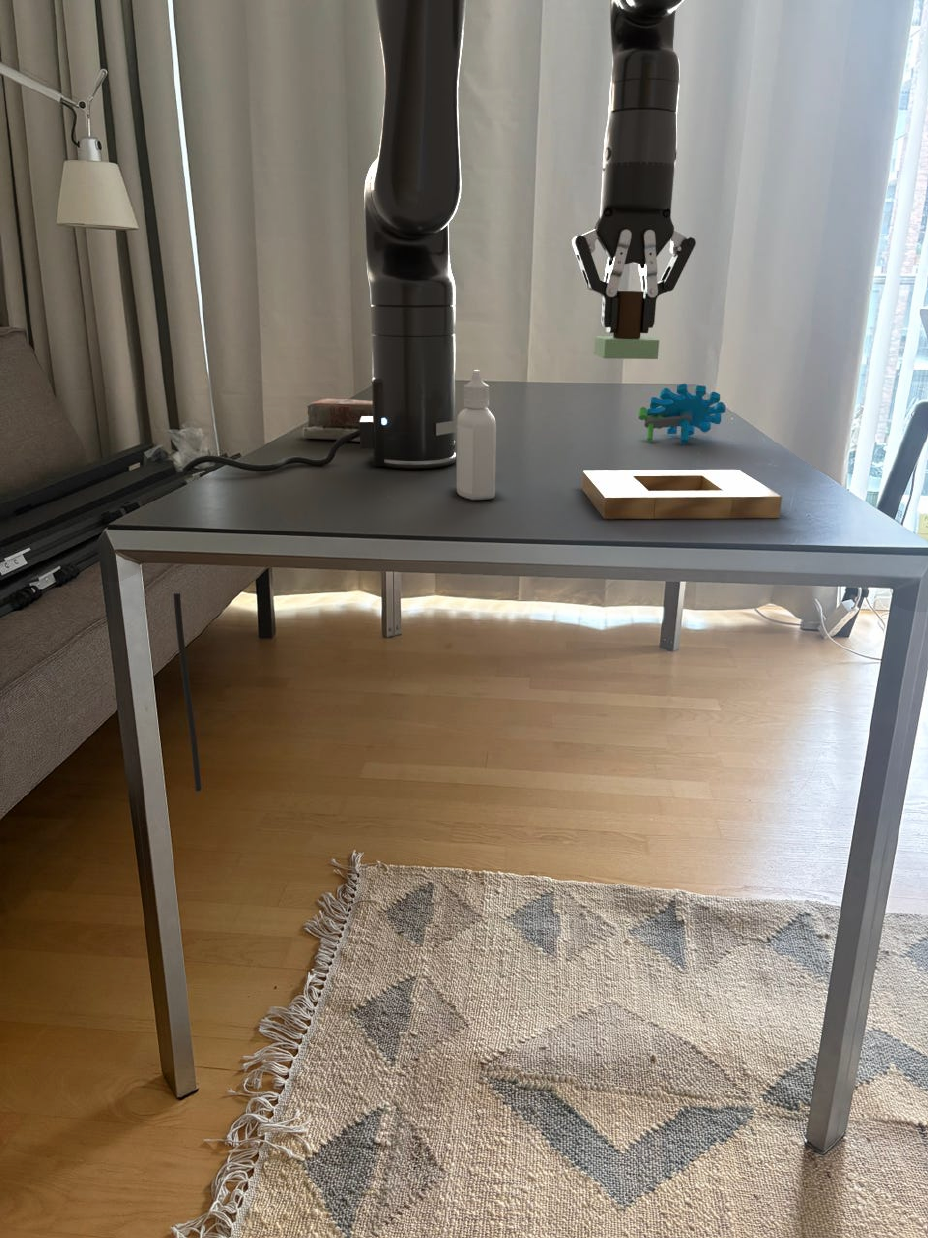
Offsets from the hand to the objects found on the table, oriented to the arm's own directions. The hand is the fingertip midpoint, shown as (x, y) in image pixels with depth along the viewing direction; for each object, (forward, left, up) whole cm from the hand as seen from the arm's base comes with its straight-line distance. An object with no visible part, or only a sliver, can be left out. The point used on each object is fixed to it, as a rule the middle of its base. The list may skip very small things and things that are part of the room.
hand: (626, 331), depth 105 cm
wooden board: (+1, -22, -15) cm, 26 cm away
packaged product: (-29, +17, -15) cm, 37 cm away
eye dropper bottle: (-18, -18, -15) cm, 29 cm away
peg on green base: (0, 0, -3) cm, 3 cm away
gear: (+11, +14, -15) cm, 23 cm away
